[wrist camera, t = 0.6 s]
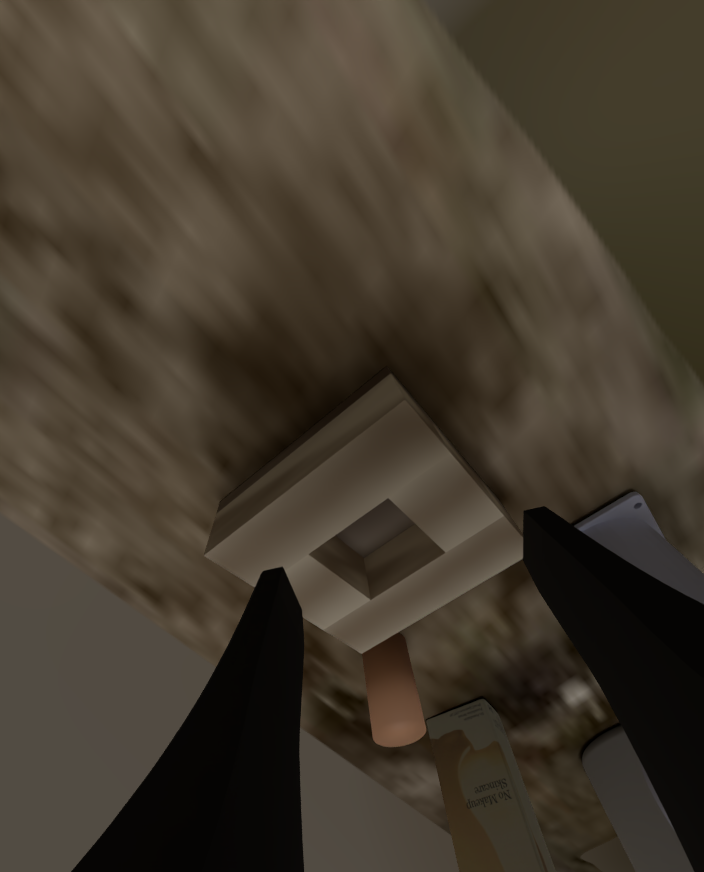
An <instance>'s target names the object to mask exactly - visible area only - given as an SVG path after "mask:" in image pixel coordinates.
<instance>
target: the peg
mask: <svg viewBox="0 0 704 872" xmlns="http://www.w3.org/2000/svg"><path fill="white" fill-rule="evenodd" d="M362 656H363V664H364V672H365V680H366V687H367V695H368V703H369V711H370V718H371V726H372V734H373V740H374V741H375V743H377V744H378V745H381V746H385V747H399V746H404V745H408V744H411V743H413V742H415V741H417V740H419V739H420V738H421V737H423V735H424V734H425V732H426V725H425V721H424V717H423V713H422V708H421V704H420V700H419V696H418V691H417V687H416V683H415V679H414V674H413V670H412V666H411V662H410V658H409V653H408V649H407V645H406V641H405V638H404V636H403V635H401V634H400V633H396V634H394V635H393V636H391V637H389V638H388V639H386V640H384V641H383V642H381V643H379V644H377V645H376V646H374V647H372V648H371V649H369V650H367V651H366V652H364V653H362Z"/></svg>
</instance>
